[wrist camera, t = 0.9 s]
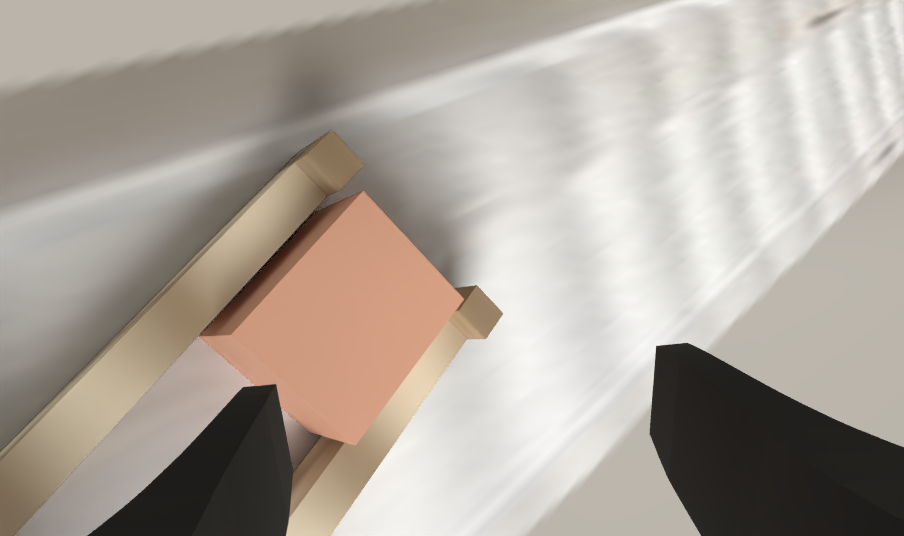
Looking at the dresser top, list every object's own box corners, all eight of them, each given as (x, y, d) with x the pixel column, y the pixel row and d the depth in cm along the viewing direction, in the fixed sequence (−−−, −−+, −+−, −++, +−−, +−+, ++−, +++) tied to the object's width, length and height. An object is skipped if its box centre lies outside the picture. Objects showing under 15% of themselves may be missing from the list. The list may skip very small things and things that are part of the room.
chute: (189, 686, 21) (215, 737, 18) (-72, 525, 18) (-88, 557, 15) (454, 316, 27) (503, 313, 24) (296, 153, 24) (332, 129, 21)
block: (307, 431, 24) (355, 445, 20) (198, 336, 22) (230, 335, 19) (407, 304, 26) (464, 299, 23) (316, 211, 25) (363, 190, 21)
